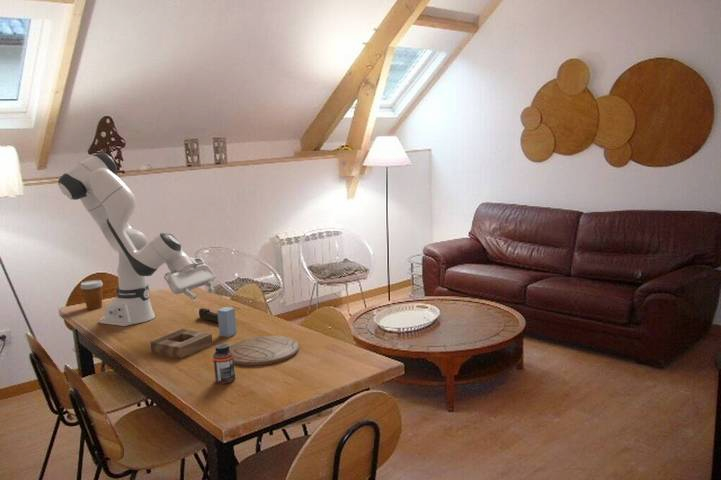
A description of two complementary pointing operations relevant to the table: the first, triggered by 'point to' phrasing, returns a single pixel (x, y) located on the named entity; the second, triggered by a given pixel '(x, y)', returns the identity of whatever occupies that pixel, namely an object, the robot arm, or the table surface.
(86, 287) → the disposable coffee cup
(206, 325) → the table surface
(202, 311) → the hand tool
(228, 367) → the supplement bottle
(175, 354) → the walnut holder
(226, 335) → the square post
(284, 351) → the trivet
